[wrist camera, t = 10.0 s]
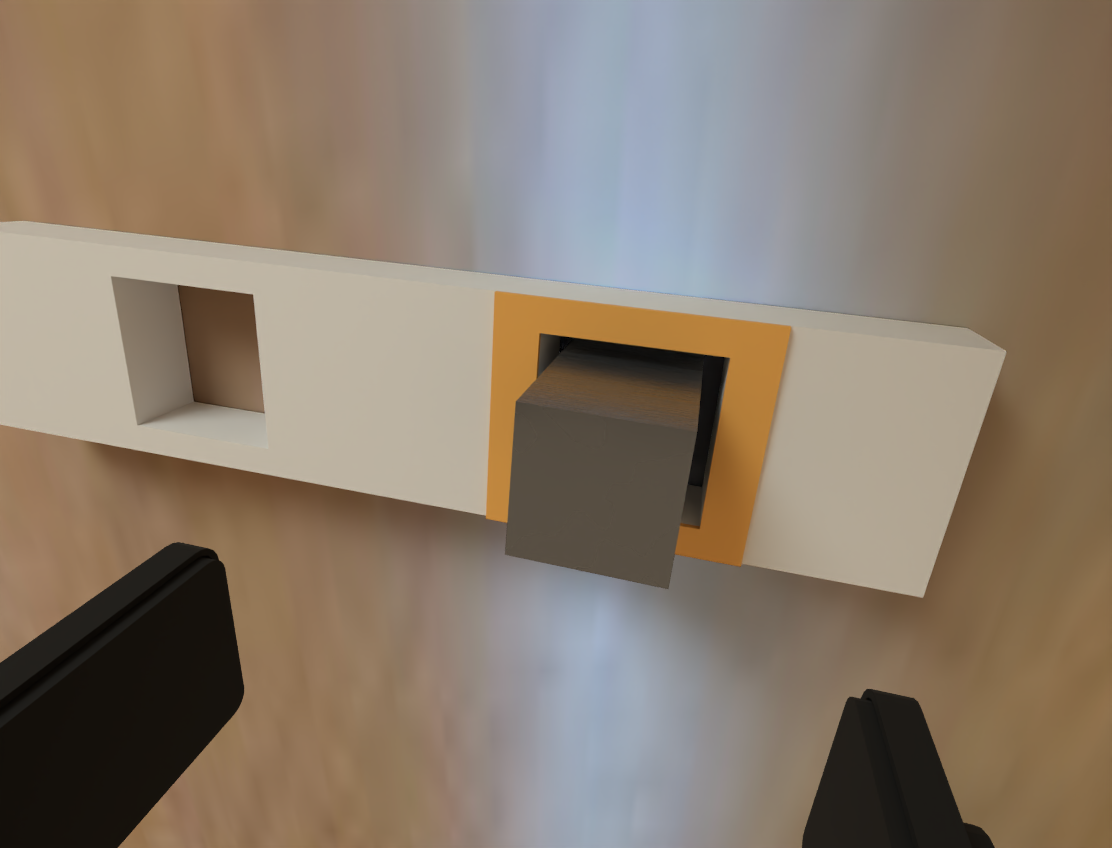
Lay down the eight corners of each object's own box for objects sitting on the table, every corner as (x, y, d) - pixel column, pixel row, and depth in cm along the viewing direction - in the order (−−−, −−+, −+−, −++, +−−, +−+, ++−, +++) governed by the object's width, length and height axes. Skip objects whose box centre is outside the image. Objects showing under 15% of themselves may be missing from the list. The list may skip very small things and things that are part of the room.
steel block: (580, 331, 23) (515, 401, 16) (704, 349, 22) (697, 431, 15) (568, 444, 25) (505, 554, 17) (683, 464, 24) (668, 589, 17)
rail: (24, 220, 27) (-61, 226, 24) (968, 328, 20) (1009, 353, 17) (63, 401, 30) (-8, 425, 27) (898, 548, 23) (924, 601, 20)
